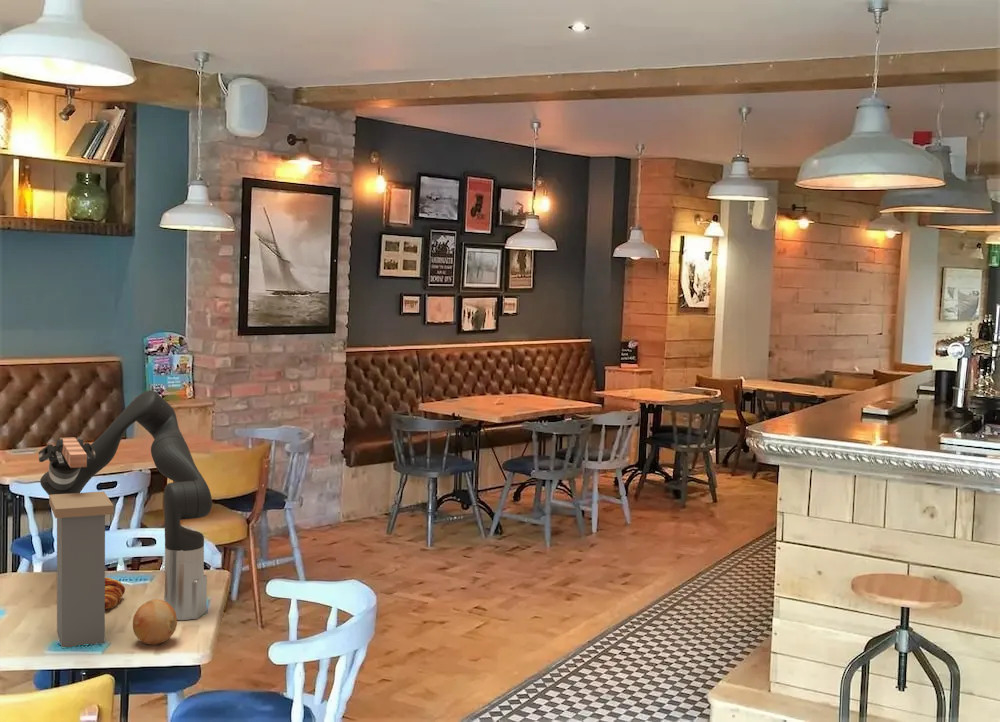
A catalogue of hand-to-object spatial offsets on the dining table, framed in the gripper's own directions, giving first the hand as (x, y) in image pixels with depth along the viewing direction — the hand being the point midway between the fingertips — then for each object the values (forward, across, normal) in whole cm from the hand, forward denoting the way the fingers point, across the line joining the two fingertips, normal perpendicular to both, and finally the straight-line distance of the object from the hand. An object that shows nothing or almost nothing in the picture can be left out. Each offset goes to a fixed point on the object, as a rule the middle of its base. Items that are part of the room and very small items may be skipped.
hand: (70, 442), depth 256 cm
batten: (+3, 0, +5) cm, 6 cm away
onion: (+7, +15, +53) cm, 55 cm away
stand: (-1, 0, +48) cm, 48 cm away
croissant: (-24, +8, +35) cm, 43 cm away
